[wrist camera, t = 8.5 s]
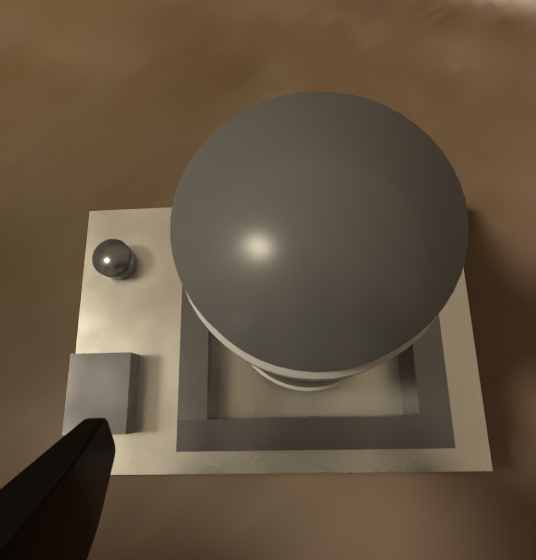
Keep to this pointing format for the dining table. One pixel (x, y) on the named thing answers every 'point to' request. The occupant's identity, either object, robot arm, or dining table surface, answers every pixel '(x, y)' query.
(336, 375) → the grey rounded cylinder
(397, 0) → the dining table surface
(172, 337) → the white base plate
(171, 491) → the dining table surface
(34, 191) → the dining table surface
